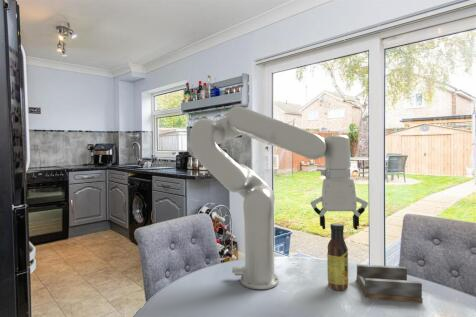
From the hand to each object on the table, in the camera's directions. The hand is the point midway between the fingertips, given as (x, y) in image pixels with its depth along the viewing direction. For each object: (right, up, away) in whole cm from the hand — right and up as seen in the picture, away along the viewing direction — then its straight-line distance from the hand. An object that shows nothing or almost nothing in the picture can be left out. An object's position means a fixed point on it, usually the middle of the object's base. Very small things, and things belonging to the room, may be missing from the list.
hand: (339, 228), depth 97 cm
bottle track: (+14, -19, -2) cm, 23 cm away
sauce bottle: (0, -19, 0) cm, 19 cm away
